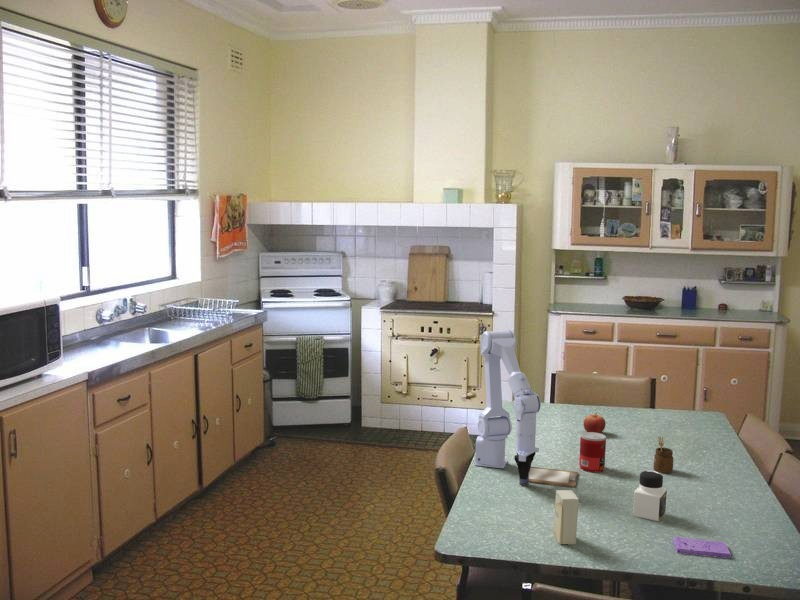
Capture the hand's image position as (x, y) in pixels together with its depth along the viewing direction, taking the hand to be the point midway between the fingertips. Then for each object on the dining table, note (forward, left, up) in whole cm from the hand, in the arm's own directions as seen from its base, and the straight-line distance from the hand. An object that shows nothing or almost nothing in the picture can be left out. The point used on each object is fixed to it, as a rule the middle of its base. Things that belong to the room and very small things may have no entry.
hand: (524, 477), depth 239 cm
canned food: (+19, +22, -3) cm, 29 cm away
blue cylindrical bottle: (0, 0, -2) cm, 2 cm away
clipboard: (+7, +9, -2) cm, 12 cm away
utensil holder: (+41, +27, -3) cm, 49 cm away
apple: (+18, +62, -3) cm, 65 cm away
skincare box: (+15, -36, -3) cm, 39 cm away
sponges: (+48, -31, -3) cm, 57 cm away
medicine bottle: (+36, -12, -3) cm, 38 cm away
